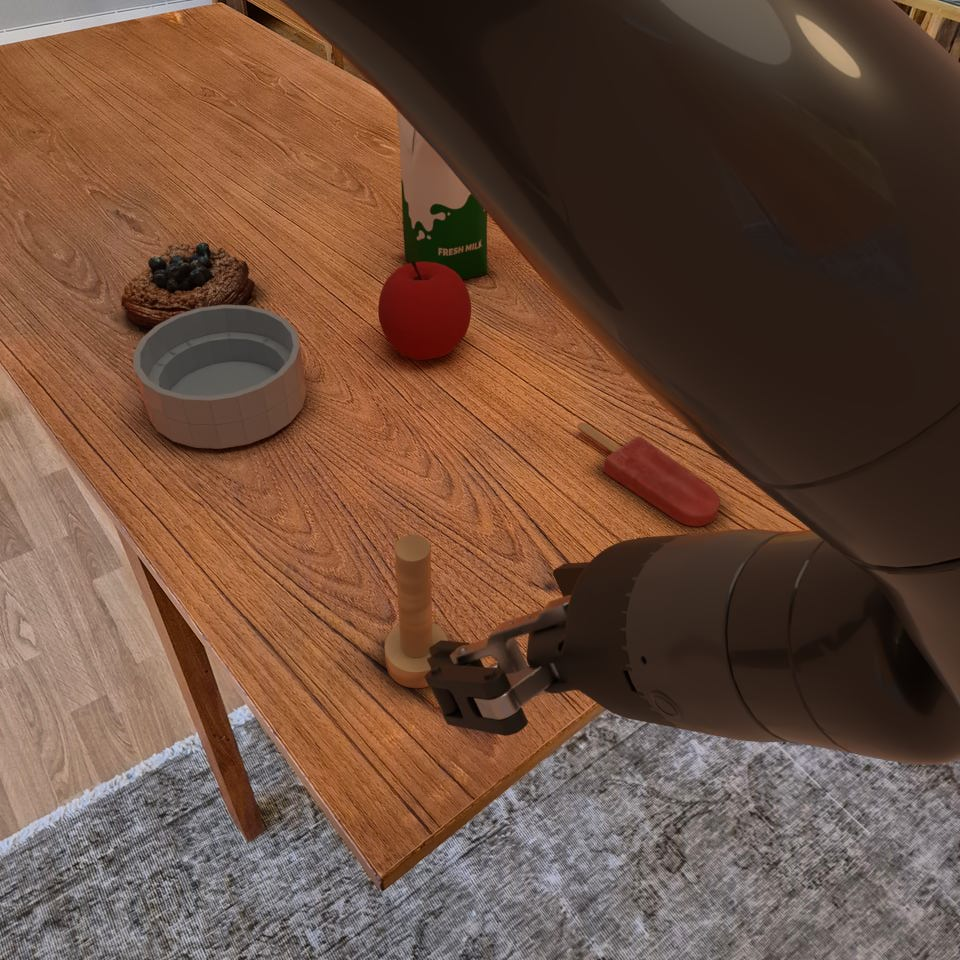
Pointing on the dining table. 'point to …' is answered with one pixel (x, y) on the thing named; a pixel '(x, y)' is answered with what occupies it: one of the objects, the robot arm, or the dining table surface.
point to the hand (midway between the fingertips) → (504, 621)
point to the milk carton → (439, 210)
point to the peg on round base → (412, 615)
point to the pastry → (186, 284)
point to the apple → (424, 310)
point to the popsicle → (658, 479)
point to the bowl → (221, 375)
